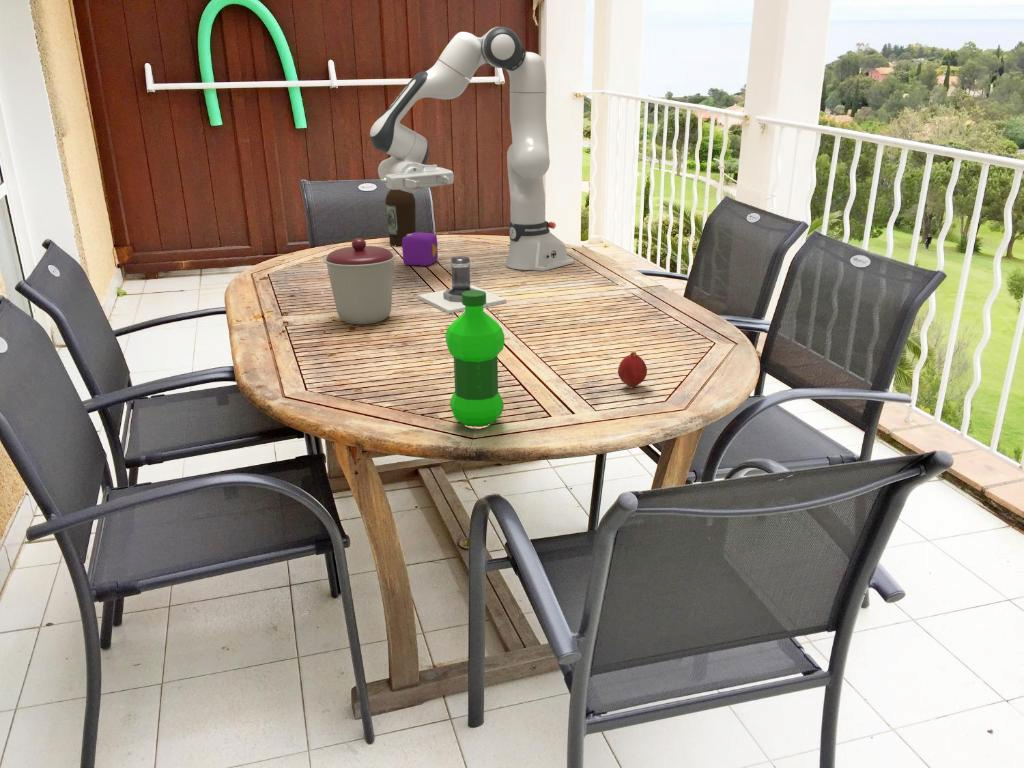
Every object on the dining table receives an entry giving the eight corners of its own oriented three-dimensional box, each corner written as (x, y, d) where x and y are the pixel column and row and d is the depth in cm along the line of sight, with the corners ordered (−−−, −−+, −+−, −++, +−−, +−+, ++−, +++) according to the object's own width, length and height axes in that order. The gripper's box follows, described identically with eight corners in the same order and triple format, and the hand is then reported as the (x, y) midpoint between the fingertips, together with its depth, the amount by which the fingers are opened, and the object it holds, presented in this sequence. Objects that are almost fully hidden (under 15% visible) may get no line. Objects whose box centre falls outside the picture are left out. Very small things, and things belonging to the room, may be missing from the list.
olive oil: (408, 239, 301) (404, 170, 291) (423, 244, 293) (419, 173, 283) (383, 243, 295) (378, 173, 286) (396, 248, 287) (392, 176, 278)
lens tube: (465, 293, 228) (463, 255, 224) (474, 297, 224) (473, 258, 220) (448, 296, 226) (447, 257, 222) (458, 300, 222) (456, 261, 217)
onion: (614, 383, 168) (616, 346, 165) (642, 381, 168) (644, 345, 165) (620, 393, 163) (622, 356, 160) (648, 392, 163) (651, 355, 160)
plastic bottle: (453, 411, 155) (448, 285, 146) (508, 413, 154) (506, 286, 145) (444, 434, 146) (438, 300, 137) (502, 436, 145) (500, 301, 136)
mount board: (473, 288, 237) (472, 280, 236) (506, 302, 223) (506, 294, 222) (418, 298, 228) (417, 289, 227) (449, 314, 214) (448, 305, 213)
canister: (357, 305, 222) (350, 229, 214) (413, 313, 214) (408, 234, 207) (315, 324, 207) (306, 242, 199) (373, 333, 199) (366, 249, 192)
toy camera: (442, 257, 274) (440, 228, 270) (434, 267, 261) (433, 236, 257) (410, 257, 275) (409, 227, 271) (401, 267, 262) (399, 236, 258)
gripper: (377, 169, 233) (398, 174, 223) (439, 163, 244) (462, 168, 233) (378, 191, 236) (399, 197, 225) (440, 185, 246) (463, 190, 235)
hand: (432, 182), depth 229 cm, fingers open, 8 cm apart
